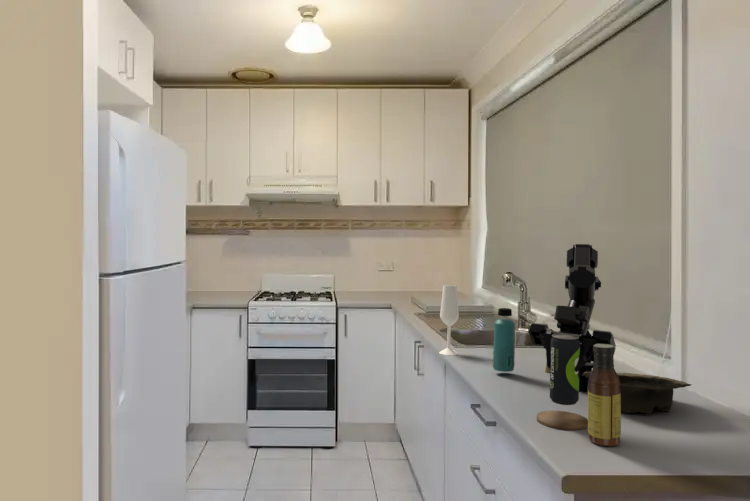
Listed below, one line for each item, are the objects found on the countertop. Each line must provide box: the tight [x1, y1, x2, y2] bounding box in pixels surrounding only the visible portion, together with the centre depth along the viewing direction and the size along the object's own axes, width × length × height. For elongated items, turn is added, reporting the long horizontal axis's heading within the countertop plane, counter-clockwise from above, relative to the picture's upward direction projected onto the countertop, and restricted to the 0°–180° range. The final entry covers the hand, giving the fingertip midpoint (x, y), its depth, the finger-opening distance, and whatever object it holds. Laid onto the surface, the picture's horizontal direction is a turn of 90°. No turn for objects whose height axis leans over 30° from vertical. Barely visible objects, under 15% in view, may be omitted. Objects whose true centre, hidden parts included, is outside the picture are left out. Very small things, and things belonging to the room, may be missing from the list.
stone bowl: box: [582, 371, 693, 414], centre depth 143 cm, size 25×25×9 cm
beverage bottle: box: [492, 307, 516, 373], centre depth 172 cm, size 6×7×20 cm
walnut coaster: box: [536, 410, 588, 431], centre depth 128 cm, size 11×11×1 cm
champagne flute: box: [438, 284, 460, 356], centre depth 202 cm, size 7×7×24 cm
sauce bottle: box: [587, 344, 622, 447], centre depth 116 cm, size 7×6×20 cm
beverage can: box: [549, 333, 580, 406], centre depth 128 cm, size 6×6×15 cm
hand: (561, 368), depth 127 cm, fingers closed on beverage can, 6 cm apart
